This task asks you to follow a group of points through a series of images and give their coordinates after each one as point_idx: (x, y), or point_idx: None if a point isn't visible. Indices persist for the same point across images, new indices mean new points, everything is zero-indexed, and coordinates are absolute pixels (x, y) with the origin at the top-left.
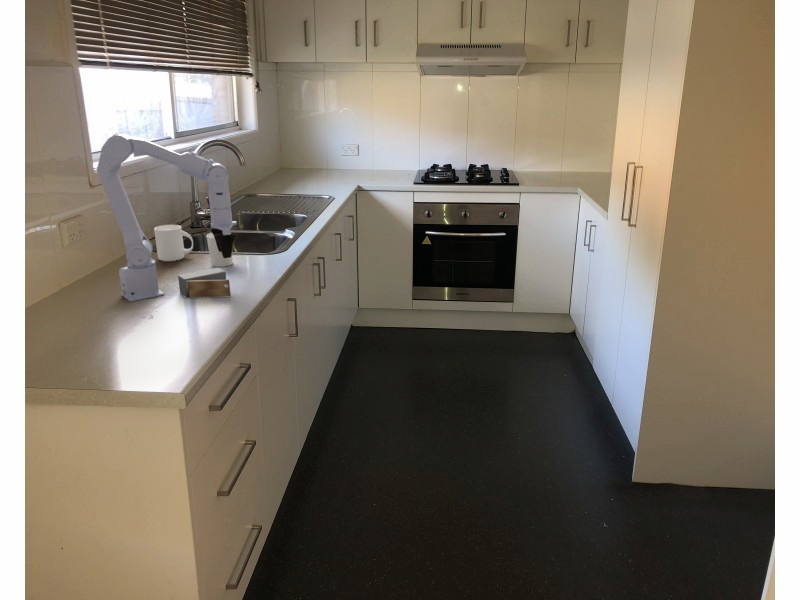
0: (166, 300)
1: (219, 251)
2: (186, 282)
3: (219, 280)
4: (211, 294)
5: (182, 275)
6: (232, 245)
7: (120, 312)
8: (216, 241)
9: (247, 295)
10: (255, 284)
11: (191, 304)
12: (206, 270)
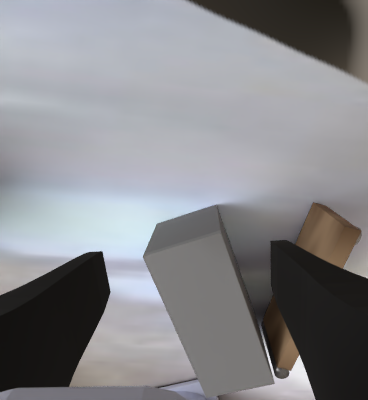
0: None
1: (108, 291)
2: (287, 371)
3: (338, 266)
4: None
5: (217, 385)
6: (355, 275)
7: None
8: (78, 359)
9: (327, 139)
10: (191, 89)
11: None
12: (176, 305)
